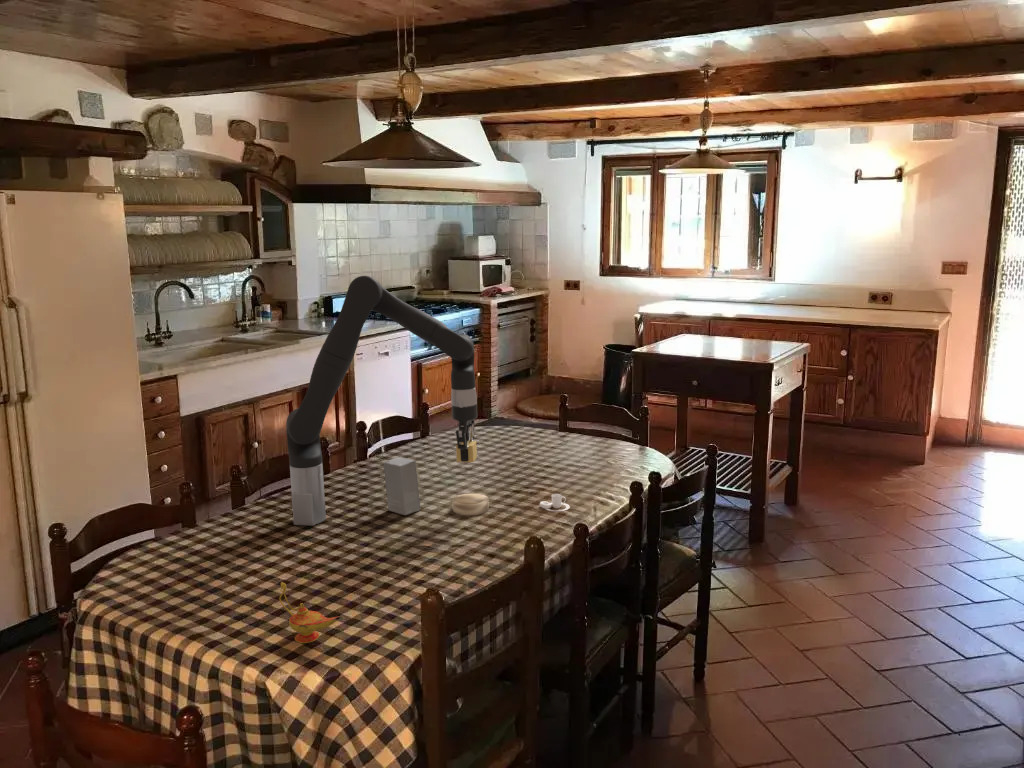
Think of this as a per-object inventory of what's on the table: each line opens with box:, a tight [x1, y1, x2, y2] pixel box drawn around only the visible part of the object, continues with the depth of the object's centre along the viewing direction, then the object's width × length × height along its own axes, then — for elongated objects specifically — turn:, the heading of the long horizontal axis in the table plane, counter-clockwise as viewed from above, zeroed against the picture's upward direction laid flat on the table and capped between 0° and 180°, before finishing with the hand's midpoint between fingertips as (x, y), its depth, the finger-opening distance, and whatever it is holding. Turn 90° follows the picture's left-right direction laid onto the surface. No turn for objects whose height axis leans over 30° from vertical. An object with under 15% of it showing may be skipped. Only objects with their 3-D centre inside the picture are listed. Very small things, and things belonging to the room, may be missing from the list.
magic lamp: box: [278, 581, 345, 644], centre depth 171 cm, size 7×18×11 cm, turn 60°
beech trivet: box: [451, 493, 490, 516], centre depth 248 cm, size 11×11×3 cm
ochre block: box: [455, 440, 478, 463], centre depth 243 cm, size 5×5×5 cm
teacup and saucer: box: [539, 493, 571, 513], centre depth 248 cm, size 9×8×4 cm
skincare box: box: [382, 456, 421, 516], centre depth 246 cm, size 8×7×16 cm
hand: (466, 458), depth 244 cm, fingers closed on ochre block, 5 cm apart
